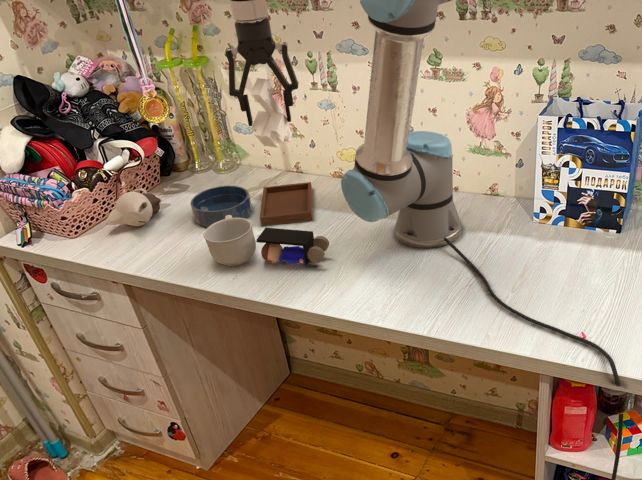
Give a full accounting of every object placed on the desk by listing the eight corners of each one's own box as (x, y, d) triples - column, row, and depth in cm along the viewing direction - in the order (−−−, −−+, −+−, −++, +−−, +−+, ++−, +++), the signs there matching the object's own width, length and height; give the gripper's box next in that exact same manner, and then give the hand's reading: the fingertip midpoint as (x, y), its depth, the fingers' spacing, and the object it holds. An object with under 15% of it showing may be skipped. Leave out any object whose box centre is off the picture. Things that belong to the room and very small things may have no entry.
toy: (144, 224, 187) (106, 239, 174) (128, 192, 184) (89, 206, 172) (180, 210, 181) (143, 225, 168) (165, 177, 178) (127, 190, 166)
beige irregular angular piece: (304, 110, 170) (275, 71, 156) (288, 153, 168) (257, 117, 154) (279, 108, 173) (249, 69, 159) (263, 150, 171) (231, 114, 157)
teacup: (254, 270, 155) (247, 238, 150) (206, 273, 156) (197, 241, 151) (263, 239, 166) (257, 208, 161) (219, 242, 167) (211, 211, 162)
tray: (312, 220, 172) (311, 212, 170) (261, 226, 171) (259, 217, 170) (312, 189, 186) (311, 181, 184) (265, 195, 185) (263, 187, 184)
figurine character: (330, 260, 159) (267, 252, 160) (330, 231, 154) (264, 223, 156) (323, 276, 154) (258, 267, 155) (322, 247, 149) (255, 238, 151)
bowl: (250, 224, 173) (246, 208, 170) (191, 231, 172) (186, 214, 169) (253, 198, 184) (250, 182, 181) (198, 204, 184) (194, 189, 181)
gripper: (300, 9, 154) (314, 111, 168) (204, 20, 153) (226, 121, 167) (299, 17, 148) (314, 122, 162) (200, 28, 148) (223, 132, 161)
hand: (270, 121), depth 165 cm, fingers closed on beige irregular angular piece, 8 cm apart
